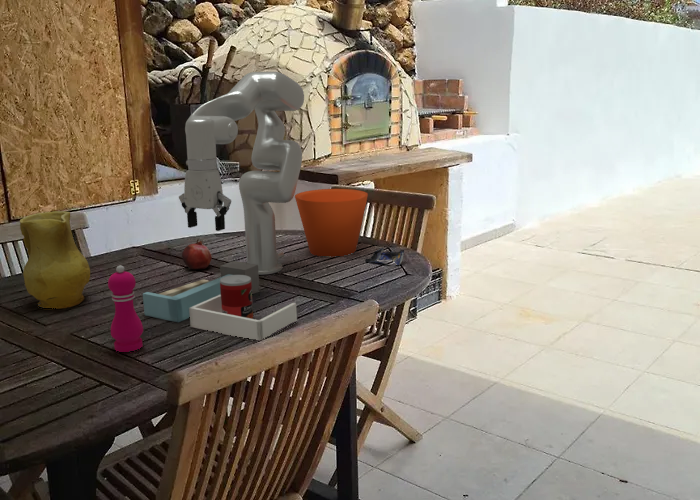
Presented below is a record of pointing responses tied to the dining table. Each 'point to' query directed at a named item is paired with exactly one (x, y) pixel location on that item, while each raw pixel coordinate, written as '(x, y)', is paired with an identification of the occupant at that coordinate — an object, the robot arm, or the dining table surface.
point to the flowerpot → (332, 219)
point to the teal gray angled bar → (196, 294)
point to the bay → (239, 320)
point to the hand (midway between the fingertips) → (206, 228)
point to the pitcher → (53, 260)
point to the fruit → (196, 256)
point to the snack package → (386, 256)
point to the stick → (184, 288)
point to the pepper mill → (124, 312)
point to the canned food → (237, 295)
